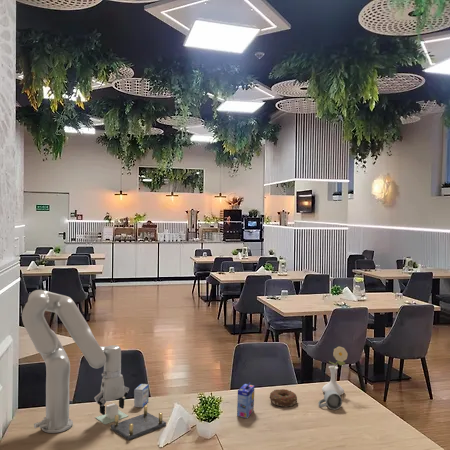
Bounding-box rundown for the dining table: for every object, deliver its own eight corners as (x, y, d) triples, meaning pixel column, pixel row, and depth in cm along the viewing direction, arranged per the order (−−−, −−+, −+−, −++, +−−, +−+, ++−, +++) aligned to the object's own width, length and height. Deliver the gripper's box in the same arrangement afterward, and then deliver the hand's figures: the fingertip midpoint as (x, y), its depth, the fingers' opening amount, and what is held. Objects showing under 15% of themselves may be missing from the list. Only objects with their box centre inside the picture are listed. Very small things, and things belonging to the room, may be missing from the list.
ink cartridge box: (247, 418, 200) (248, 387, 200) (236, 416, 202) (236, 385, 202) (254, 410, 209) (254, 380, 209) (243, 408, 211) (244, 378, 211)
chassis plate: (128, 440, 179) (128, 426, 179) (110, 428, 189) (110, 416, 189) (166, 425, 192) (166, 413, 192) (147, 415, 202) (147, 403, 202)
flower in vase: (322, 396, 226) (322, 348, 226) (321, 388, 237) (321, 342, 238) (348, 398, 224) (348, 349, 224) (346, 390, 235) (346, 343, 235)
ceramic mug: (337, 403, 218) (337, 387, 218) (342, 409, 210) (342, 393, 210) (316, 403, 218) (316, 388, 218) (320, 410, 210) (320, 394, 210)
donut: (269, 396, 227) (270, 386, 227) (296, 398, 225) (296, 388, 225) (268, 407, 212) (268, 397, 212) (297, 409, 210) (297, 399, 211)
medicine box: (142, 407, 211) (142, 389, 211) (133, 407, 212) (134, 389, 212) (148, 401, 219) (148, 384, 219) (140, 400, 220) (140, 383, 220)
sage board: (105, 425, 193) (105, 412, 193) (95, 419, 199) (95, 406, 199) (128, 417, 201) (128, 404, 201) (118, 411, 208) (118, 399, 208)
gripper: (99, 380, 192) (99, 419, 192) (133, 371, 204) (132, 407, 204) (90, 375, 197) (90, 413, 197) (124, 367, 209) (124, 403, 209)
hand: (112, 410), depth 200 cm, fingers open, 9 cm apart
